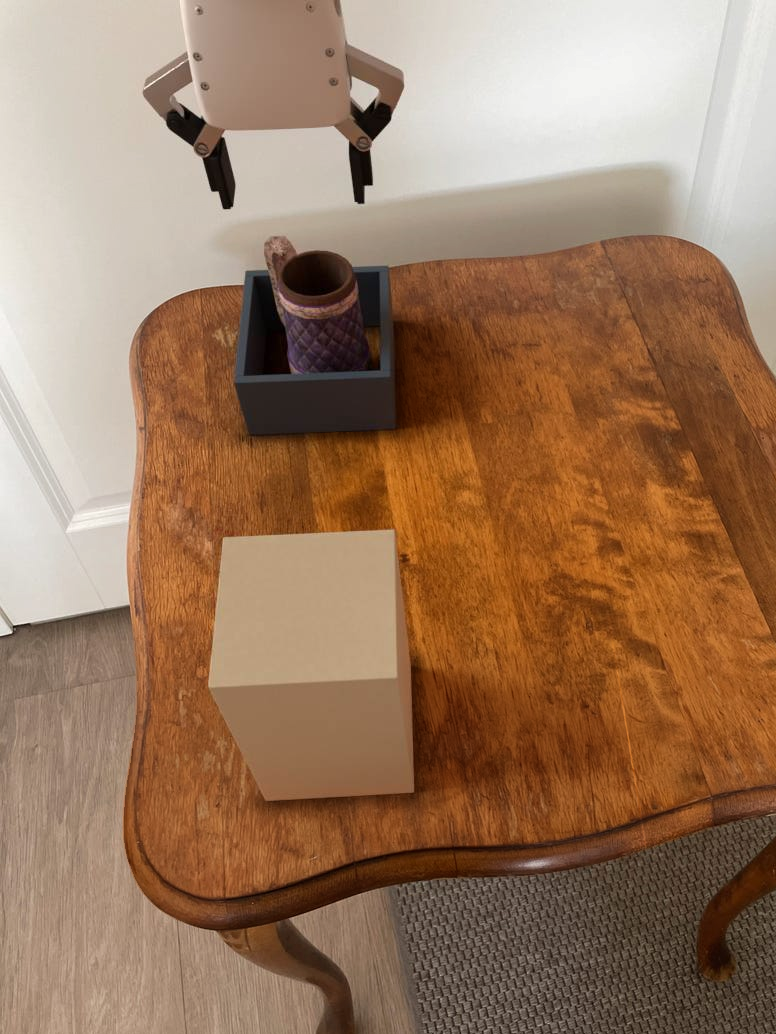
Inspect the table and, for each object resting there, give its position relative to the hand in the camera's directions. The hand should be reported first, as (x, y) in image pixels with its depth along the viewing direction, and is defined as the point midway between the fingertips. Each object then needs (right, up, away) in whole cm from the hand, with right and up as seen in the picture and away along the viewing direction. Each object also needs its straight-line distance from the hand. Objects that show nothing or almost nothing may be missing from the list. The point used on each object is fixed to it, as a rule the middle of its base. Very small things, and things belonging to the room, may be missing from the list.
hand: (295, 195), depth 69 cm
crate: (0, -9, +15) cm, 17 cm away
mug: (0, -9, +15) cm, 18 cm away
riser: (+4, -39, -4) cm, 40 cm away
